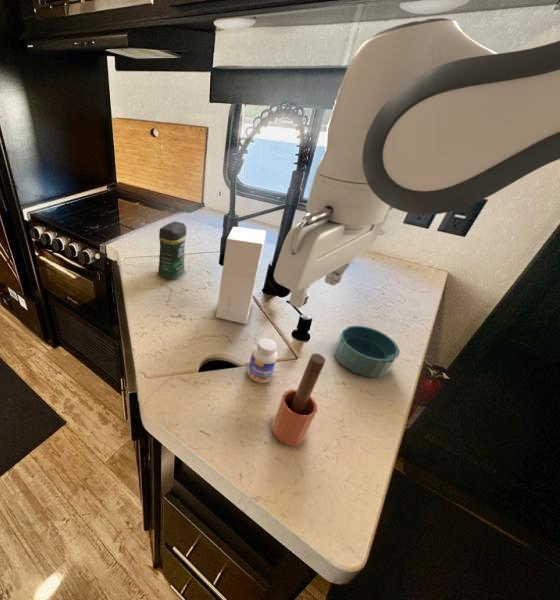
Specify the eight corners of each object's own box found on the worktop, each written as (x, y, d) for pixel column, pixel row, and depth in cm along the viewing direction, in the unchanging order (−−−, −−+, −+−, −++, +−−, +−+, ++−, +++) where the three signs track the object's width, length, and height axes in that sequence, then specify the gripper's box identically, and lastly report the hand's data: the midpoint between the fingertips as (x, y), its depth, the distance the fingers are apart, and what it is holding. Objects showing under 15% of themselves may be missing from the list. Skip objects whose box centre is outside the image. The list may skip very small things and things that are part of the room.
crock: (303, 423, 63) (316, 394, 58) (303, 450, 58) (317, 422, 53) (273, 413, 65) (283, 385, 60) (270, 439, 60) (281, 411, 55)
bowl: (383, 349, 80) (393, 332, 77) (393, 384, 71) (405, 366, 68) (331, 338, 84) (339, 321, 81) (334, 370, 75) (343, 352, 71)
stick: (299, 428, 62) (331, 356, 50) (298, 438, 60) (332, 366, 48) (278, 421, 63) (304, 350, 51) (277, 431, 61) (304, 359, 50)
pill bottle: (247, 380, 72) (254, 350, 66) (247, 364, 76) (254, 334, 71) (271, 385, 71) (281, 355, 65) (270, 368, 75) (279, 338, 70)
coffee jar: (174, 282, 107) (176, 232, 96) (155, 276, 111) (154, 226, 100) (187, 271, 114) (190, 222, 103) (169, 265, 117) (170, 217, 106)
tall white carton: (215, 317, 91) (226, 238, 77) (222, 301, 98) (232, 226, 84) (246, 324, 89) (263, 244, 74) (250, 307, 95) (266, 230, 81)
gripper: (328, 226, 31) (293, 332, 39) (408, 190, 41) (368, 280, 49) (274, 209, 35) (253, 308, 43) (359, 181, 45) (329, 265, 53)
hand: (315, 293), depth 46 cm, fingers open, 8 cm apart
